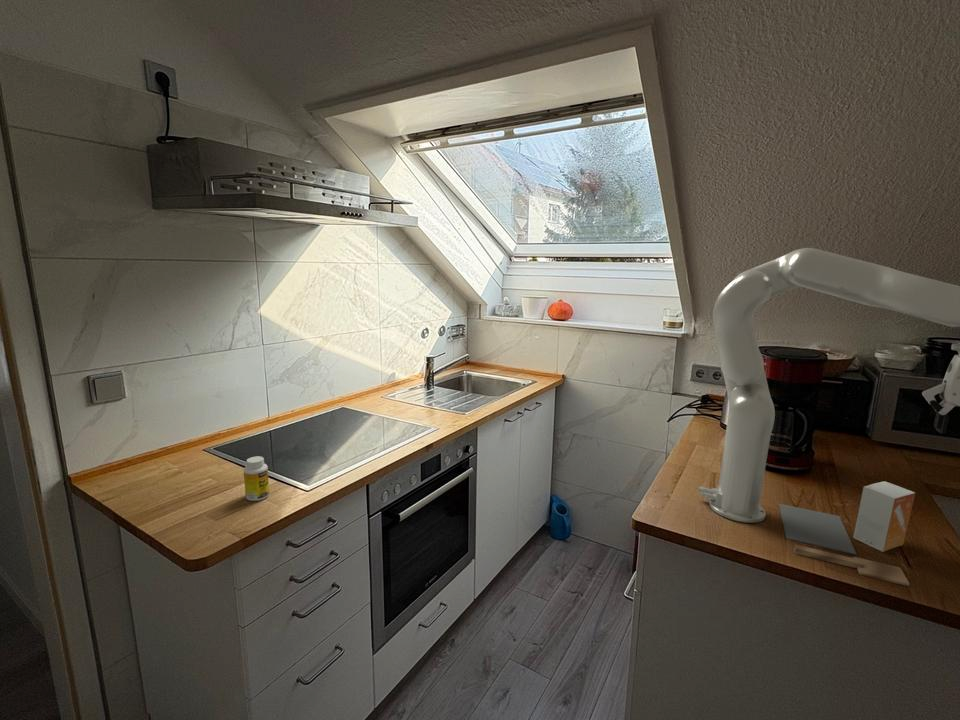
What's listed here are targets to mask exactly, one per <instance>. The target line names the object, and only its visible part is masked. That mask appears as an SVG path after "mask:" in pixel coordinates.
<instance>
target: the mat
mask: <svg viewBox="0 0 960 720" xmlns="http://www.w3.org/2000/svg"><path fill="white" fill-rule="evenodd" d="M778 507H779V510H780V511H779V512H780V516H781V521H782V525H783V529H784V534H785V538H786V540H791V541H795V542H799V543H804V544H808V545H811V546H817V547H820V548H821V547H822V548H825V549H830V550H833V551H837V552H842V553H846V554H851V555H854V556H856V555H857V552H856V550H855V547H854V546H853V543H852V541H851V539H850V537H849V535H848V532H847V530H846V528H845V525H844V523H843V521H842V519H841V516H840V515H836V514H831V513H827V512H822V511H818V510H817V511H816V510H811V509H809V508H808V509H806V508H801V507H797V506H793V505H788V504H783V503H778Z"/></svg>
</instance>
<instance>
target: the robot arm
mask: <svg viewBox="0 0 960 720" xmlns="http://www.w3.org/2000/svg"><path fill="white" fill-rule="evenodd" d="M799 287H801V288H804V289H808V290H812V291H815V292H819V293H823V294H826V295H830V296H834V297H837V298H840V299H843V300H847V301H851V302H854V303H858V304H861V305H865V306H868V307H873V308H874V307H875V308H882V309H886V310H889V311H894V312H898V313H901V314H905V315H908V316H909V315H910V316H913V317H916V318H920V319H923V320H926V321H930V322H931V323H932V322H933V323H937V324H940V325H944V326H946V327H947V326H948V327H953V328H956V327H957V328H958V327H960V285H956V284H953V283H949V282H945V281H940V280H937V279H932V278H930V277H929V278H928V277H925V276H921V275H917V274H912V273H909V272H906V271H905V272H904V271H901V270H898V269H895V268H891V267H888V266H886V265H881V264H877V263H873V262H869V261H864V260H862V259H857V258H853V257H849V256H847V255H841V254H838V253H834V252H830V251H825V250H822V249H820V248H819V249H818V248H813V247H802V248H799V249H795V250H793V251H791V252H788V253H786V254H784V255H782V256H779V257H777V258H775V259H772V260H770V261H767V262H765V263H761V264H760V265H757V266H755V267H753V268H750V269H747V270H744V271H743V272H741V273H739V274H737V275H735V278H734V279H733V280H732V281H731V282H729V283H728V284H727V285H726V286H725V287H724V288H723V290H722V291H721V292H720V293H719V295H718V296H717V299H716V301H715V303H714V307H713V311H712V313H713V314H712V320H713V321H712V322H713V329H714V334H715V339H716V340H715V341H716V345H717V350H718V355H719V359H720V360H719V367H720V370H721V373H722V374H723V379H724V384H725V388H726V392H727V397H728V414H727V422H726V428H725V429H726V430H725V437H724V444H723V451H722V459H721V467H720V473H719V481H718V484H717V485H716V488H715V487H711V488H710V487H709V488H708V487H706V486H700V485H698V491H697V493H698V494H700V495H702V498H703V499H704V498H705V499H709V506H710V509H712V511H714V512H715V513H716V514H718V515H720V516H722V517H723V518H726V519H729V520H732V521H735V522H738V523H739V522H740V523H741V522H742V523H747V524H748V523H750V524H751V523H759V522H762V521H764V520H765V518H766V516H767V515H766V511H765V508H763V507H762V506H761V504H760V503H761V498H762V497H761V496H762V493H763V492H762V491H763V485H764V479H765V478H764V477H765V471H766V465H767V459H768V454H769V453H768V452H769V447H770V441H771V436H772V432H773V428H774V423H775V416H776V413H775V404H774V402H773V399H772V396H771V393H770V389H769V384H768V381H767V380H768V379H767V375H766V370H765V362H764V358H763V355H762V353H761V351H760V348H759V344H758V339H757V335H756V334H757V333H756V329H755V328H756V327H755V323H754V315H755V313H756V310H757V308H758V307H760V306H761V305H763V304H765V303H766V301H768V300H769V299H770V298H772V297H776V296H778V295H781V294H784V293H787V292H789V291H792V290H794V289H797V288H799ZM950 347H951V348H950V350H952V351H956V352H957V354H954V356H953V357H952V359H951V361H950V363H949V364H948V367H947V370H946V372H945V375H944V377H943V380H942V383H940V384H938V385H935V386H932V387H931V388H928V389H925V390H923V391H922V392H921V395H922V396H923V397H924V399H925V401H927V403H928V404H929V406H931V408H933V409H934V411H935V412H936V414H935V416H934V417H935V418H934V422H933V427H934V428H935V430H936V431H937V432H938V433H940V434H943V435H944V434H946V433H947V429H948V425H949V420H950V416H949V415H948V413H949V412H950V411H952V410H953V408H955V407H960V342H958V343H951V346H950ZM938 394H939V398H940V399H941V402H940V403H939V402H938V401H937V400H936V398H935V396H936V395H938Z"/></svg>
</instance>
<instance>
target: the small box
mask: <svg viewBox="0 0 960 720" xmlns="http://www.w3.org/2000/svg"><path fill="white" fill-rule="evenodd" d="M860 497H861V498H860V503H859V508H858V513H857V517H856V523H855V527H854V532H853V539H854V540H857V541H859V542H861V543H863V544H865V545H867V546H869V547H871V548H874V549H876V550H878V551H879V552H882V553H884V552H886V551H889V550H891V549H894V548H897V547H900V546H903V545H904V544H905V539H906V535H907V529H908V528H909V527H908V526H909V521H910V518H911V515H912V514H911V513H912V509H913V505H914V502H915V501H914V500H915V497H916V492H915V491H912V490H910V489H907V488H904V487H902V486H899V485H896V484H893V483H891V482H887V481H880V482H875V483H871V484H869V485H865V486H863V487H862V493H861V496H860Z"/></svg>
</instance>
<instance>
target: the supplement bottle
mask: <svg viewBox="0 0 960 720" xmlns="http://www.w3.org/2000/svg"><path fill="white" fill-rule="evenodd" d="M243 479H244V496H245V498H246V500H247V501H250V502H258V501H262V500H264V499H266V498H267V497H268V496H269V495H270V488H269V487H270V486H269V484H270V483H269V482H270V481H269V467H268V465H267V464H266V463H265V458H264V457H263V456H259V455H258V456H257V455H256V456H252V457H249V458H247V459H246V466H244V468H243Z"/></svg>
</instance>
